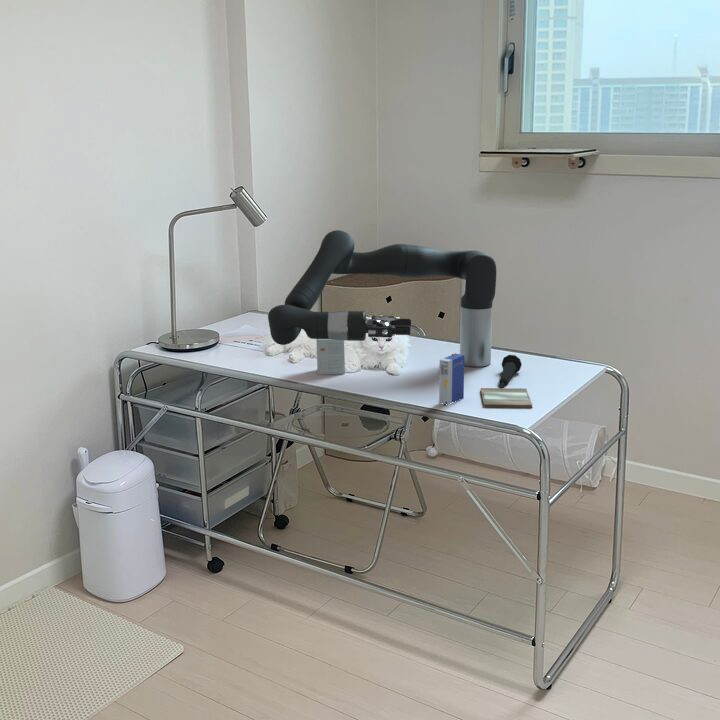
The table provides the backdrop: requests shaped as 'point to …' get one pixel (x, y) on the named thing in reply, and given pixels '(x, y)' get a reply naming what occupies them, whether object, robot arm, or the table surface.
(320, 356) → the small box
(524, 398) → the card
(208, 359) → the table surface
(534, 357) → the table surface
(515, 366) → the microphone
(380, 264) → the robot arm
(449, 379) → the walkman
